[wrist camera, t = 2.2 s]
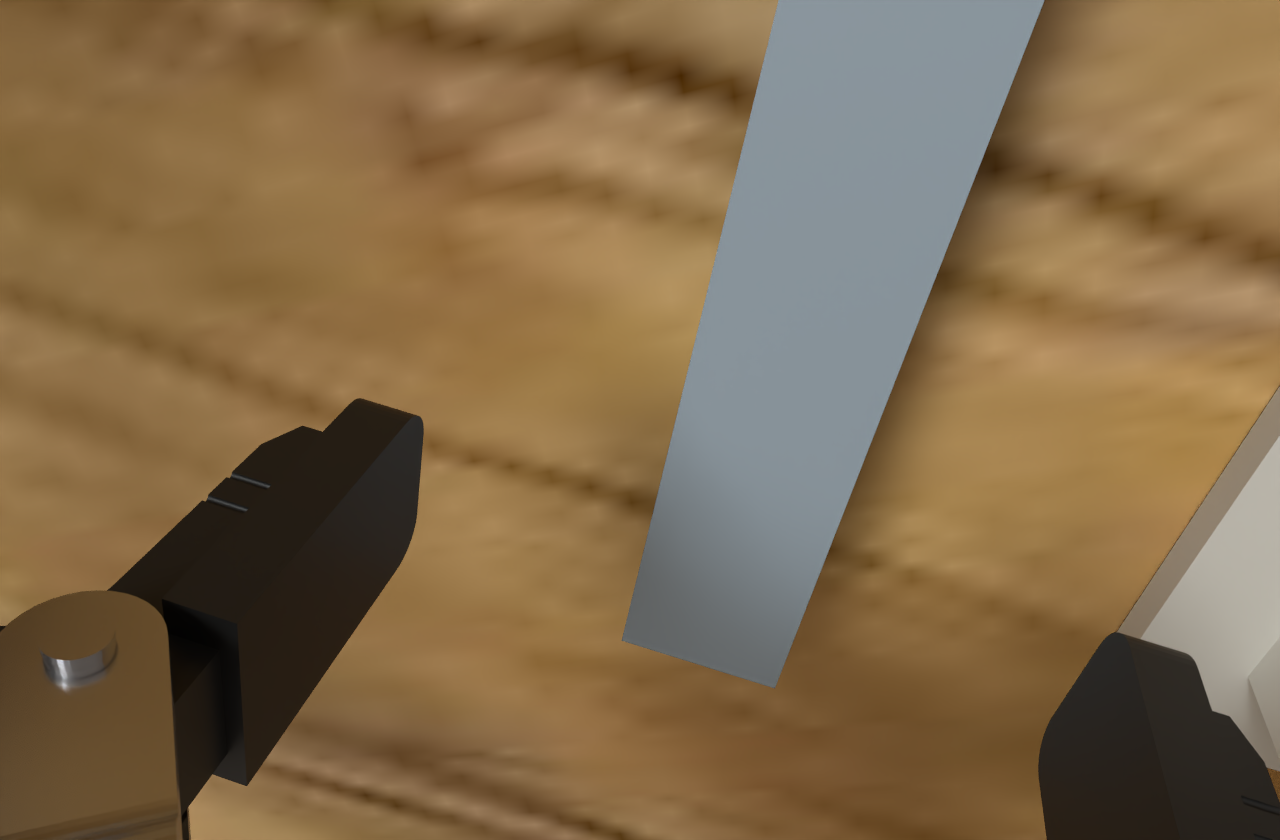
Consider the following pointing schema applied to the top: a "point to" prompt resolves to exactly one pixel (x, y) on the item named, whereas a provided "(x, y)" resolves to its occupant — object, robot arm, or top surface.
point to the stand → (1229, 590)
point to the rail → (814, 307)
